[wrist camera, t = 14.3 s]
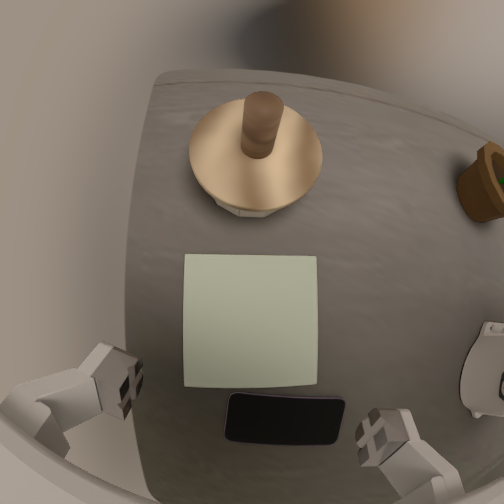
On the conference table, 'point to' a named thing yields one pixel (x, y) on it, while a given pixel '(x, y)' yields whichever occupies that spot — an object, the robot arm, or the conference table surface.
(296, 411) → the smartphone
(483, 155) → the flowerpot
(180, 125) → the conference table surface
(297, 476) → the conference table surface
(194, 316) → the mat
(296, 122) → the lid
